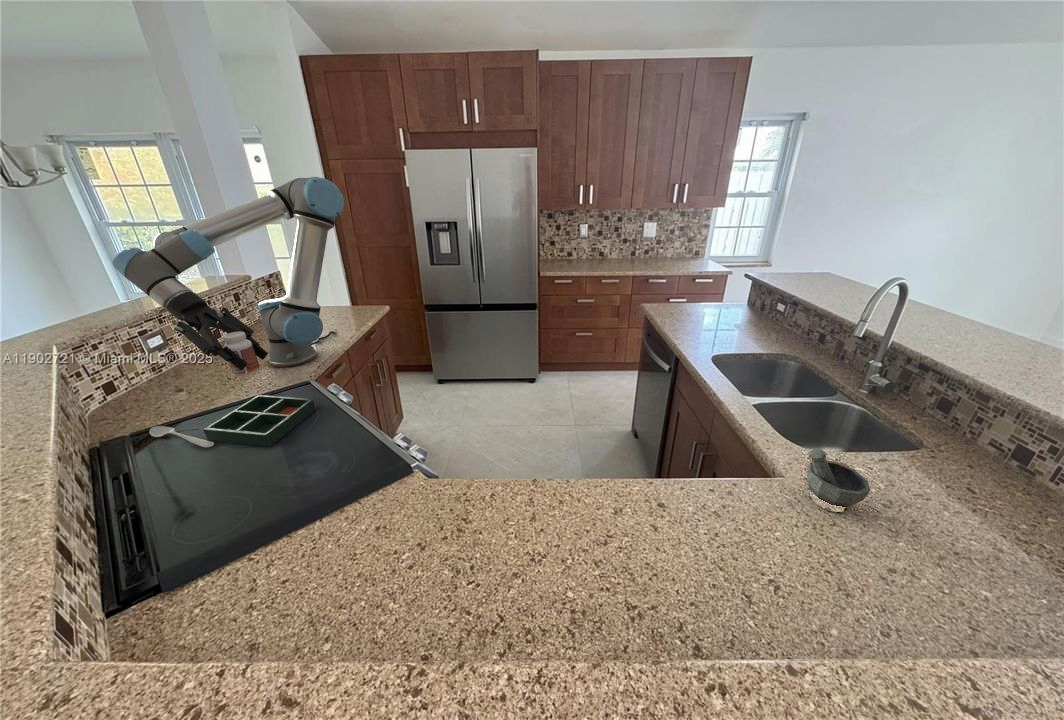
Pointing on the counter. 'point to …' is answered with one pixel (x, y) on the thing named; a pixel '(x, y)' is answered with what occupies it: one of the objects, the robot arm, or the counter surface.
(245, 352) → the pill bottle
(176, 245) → the robot arm
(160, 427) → the spoon
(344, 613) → the counter surface
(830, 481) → the mortar and pestle
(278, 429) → the grid
